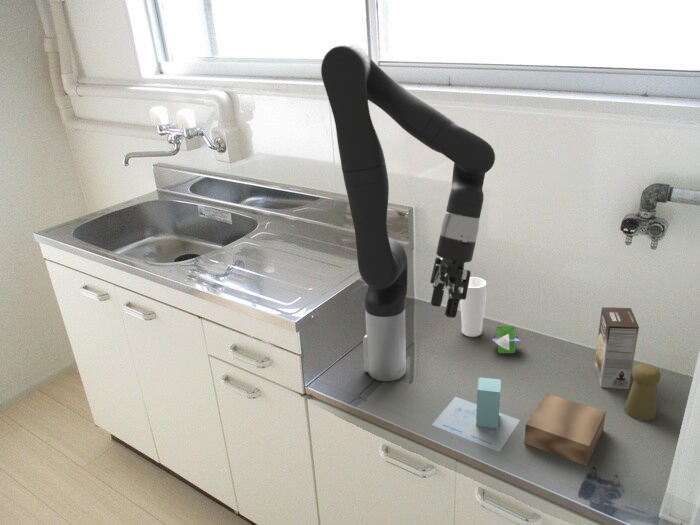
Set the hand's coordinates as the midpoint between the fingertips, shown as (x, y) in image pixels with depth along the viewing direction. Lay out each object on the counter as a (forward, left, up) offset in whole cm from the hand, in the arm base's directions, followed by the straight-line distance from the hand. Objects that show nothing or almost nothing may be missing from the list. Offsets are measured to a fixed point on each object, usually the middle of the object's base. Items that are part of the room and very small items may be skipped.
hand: (442, 311), depth 126 cm
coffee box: (+30, +26, -22) cm, 45 cm away
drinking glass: (-6, +29, -21) cm, 36 cm away
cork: (+38, +16, -21) cm, 47 cm away
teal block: (+12, -3, -21) cm, 25 cm away
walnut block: (+27, 0, -22) cm, 35 cm away
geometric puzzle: (+5, +25, -22) cm, 33 cm away
